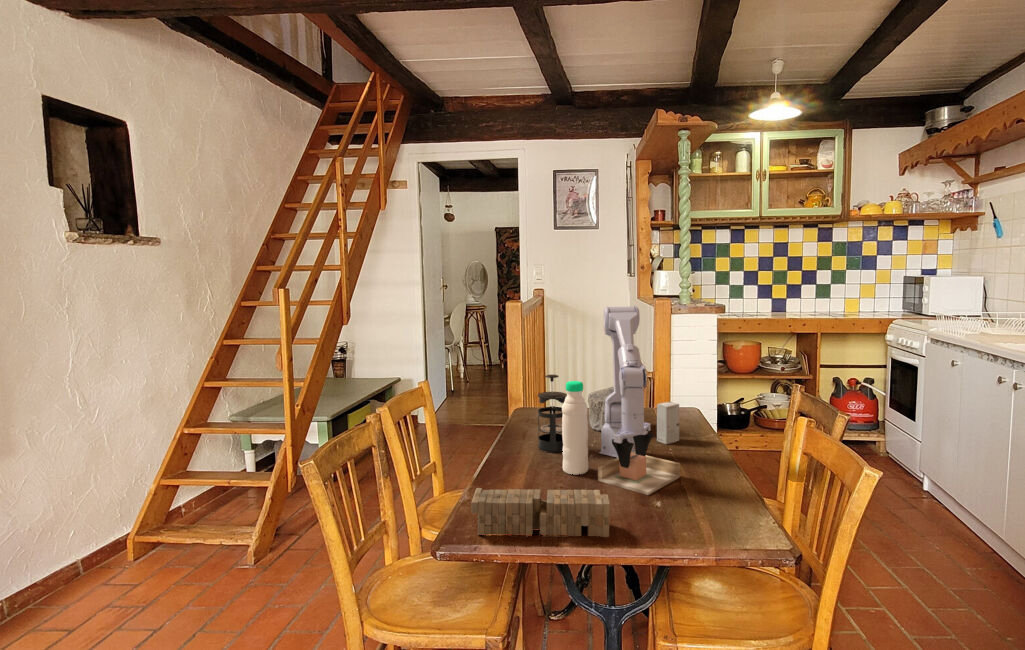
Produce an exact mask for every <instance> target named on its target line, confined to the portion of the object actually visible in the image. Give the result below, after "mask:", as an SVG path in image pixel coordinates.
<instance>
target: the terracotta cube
mask: <svg viewBox="0 0 1025 650" xmlns="http://www.w3.org/2000/svg"><path fill="white" fill-rule="evenodd" d="M620 476H621V477H625V478H629V479H632V480H638V479H640V478H642V477H644V476H646V457H645V456H641V455H637V454H633V453H631V455H630V464H629V467H628V468H625V467H621V465H620Z"/></svg>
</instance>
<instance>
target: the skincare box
mask: <svg viewBox="0 0 1025 650" xmlns="http://www.w3.org/2000/svg"><path fill="white" fill-rule="evenodd" d="M677 441H678V442H679V441H680V403H677V402H674V401H668V402H667V401H666V402H661V403H656V442H658V443H661V444H664V445H669V444H674V443H677Z"/></svg>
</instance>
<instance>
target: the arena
mask: <svg viewBox="0 0 1025 650" xmlns="http://www.w3.org/2000/svg"><path fill="white" fill-rule="evenodd" d="M631 453H633V454H636V453H635V452H631ZM645 457H646V476H644V477H642V478H640V479H638V480H632V479H629V478H625V477H621V476H620V461H619V458H616V457H615V459H612V460H610V461H608V462H606V463H603V464H601V465H599V466H598V467H597V481H598V482H601V483H604V484H608V485H611V486H615V487H618V488H621V489H626V490H629V491H633V492H636V493H639V494H643V495H646V496H650V495H652V494H653V493H654V492H657V491H658V490H660V489H661V488H663V487H665V486H667V485H668V484H671V483H673V482H674V481H676V480H677V479H679V478H681V463H680V462H676V461H672V460H668V459H663V458H659V457H655V456H651V455H647V454H646V456H645Z"/></svg>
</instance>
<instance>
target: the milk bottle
mask: <svg viewBox="0 0 1025 650" xmlns="http://www.w3.org/2000/svg"><path fill="white" fill-rule="evenodd" d="M583 390H584V384H583V382H582V381H579V380H571V381H570V380H569V381H567V382H566V383H565V392H566V394H567V396H566V397H565V402H564V403H562V406H561V407H562V412H561V413H563V416H562V417H561V418H562V419H561V425H562V433H561V434H562V438H563V452H562V470H563V472H564V473H566V474H568V475H572V474H573V475H575V476H577V475H579V474H580V475H584V474H586V473H588V471H589V460H588V458H589V457H588V456H589V447H588V441H589V440H588V439H589V421H588V420H589V418H588V412H589V406H588V405H587V402H586V401H585V399H584V396H583V395H582V393H583Z"/></svg>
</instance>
